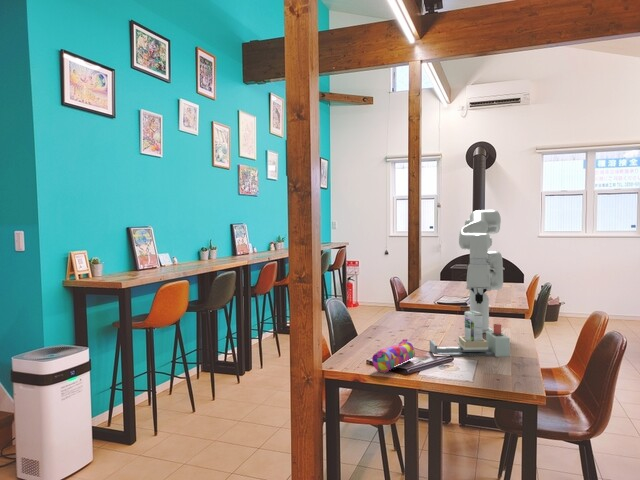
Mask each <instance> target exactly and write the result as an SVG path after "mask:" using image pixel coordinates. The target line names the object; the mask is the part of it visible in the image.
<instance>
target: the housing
mask: <svg viewBox="0 0 640 480" xmlns="http://www.w3.org/2000/svg"><path fill="white" fill-rule="evenodd" d="M510 339H511V338H510V337H509V336H507V335H505V334H504V333H502V332H501V334H499V336H496V334H494V330H492V331H486V333H485V340H486V341H487V346H488V347H490V350H491V351H492V352H494V353H495V356H494V357H510V354H511V352H510V351H511V349H510V347H511V346H510V345H511V343H510Z"/></svg>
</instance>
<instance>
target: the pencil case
mask: <svg viewBox="0 0 640 480" xmlns="http://www.w3.org/2000/svg"><path fill="white" fill-rule="evenodd" d="M415 356H416V353H415V348H414V346H413V344H412V343H411V342H409V341H408V339H405V338H403V339H402V340H400V341H399V342H397V343H396V344H394V345H391V346H388V347H385V348H383V349H380V350H378V351H377V352H376V353H374V354H373V355H372V360H371V361H372V364H373V366H374V368H375V370H377V371H378V372H380V373H382V372H386V373H388V372H389V370H390V371H392V370H391V369H392V368H393V367H394V366H396V365H398V364H401V363H403V362H405V361H407V360H409V359H411V358H413V357H414V358H415Z"/></svg>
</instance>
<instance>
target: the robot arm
mask: <svg viewBox="0 0 640 480" xmlns="http://www.w3.org/2000/svg"><path fill="white" fill-rule="evenodd" d="M501 223H502V220H501V215H500V212H499V211H498V210H496V209H481V210H480V209H478V210H474V211H473V212H471V213H470V215H469V218H468V219H466V220H465V221H464V226H463V227H462V228H461V229H460V231H459V235H458V245H459V247H460V249H461V250H469V264H468V266H467V270H466V271H467V273H466V290H468V291H469V311H476V312H479V313H482V314H483V334H486V331H493V329H492V328H493V327H490V318H489V317H490V314H489V313H490V303H489V301H490V299H489V296H488V295H487V293H486V292H490V291H497V290H498V291H499V290H502V289H503V287H504V267H503V265H504V263H503V262H504V261H503V256H502V253H501V252H499V251H497V250H496V251H495V250H489V249H490V248H491V247H492V245H493V238H492V236H491V234H493V235H494V234H498V233H499V232H500V230H501Z"/></svg>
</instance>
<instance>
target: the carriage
mask: <svg viewBox="0 0 640 480" xmlns="http://www.w3.org/2000/svg"><path fill="white" fill-rule="evenodd" d="M457 344H458V346H459V347H462V348H463V352H486V350H487V349H488V347H487V341H486V338H485V339H484V338H483V341H465V335H463V336H460V335H459V336H458V342H457Z"/></svg>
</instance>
